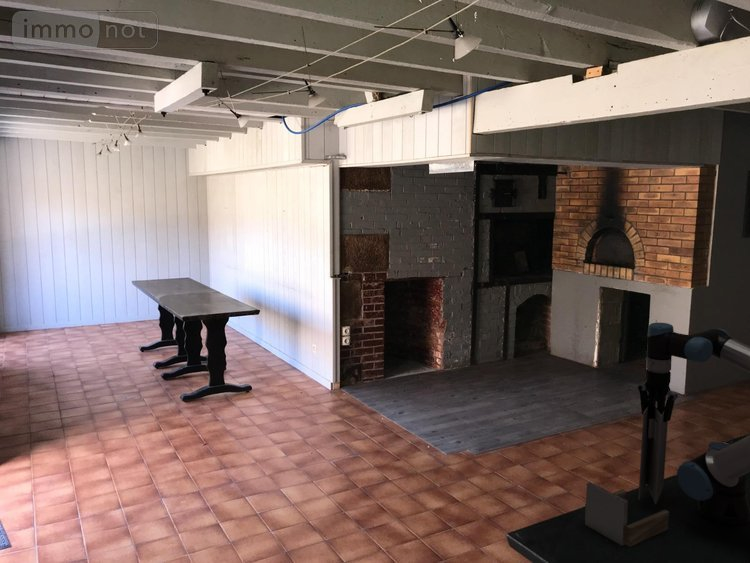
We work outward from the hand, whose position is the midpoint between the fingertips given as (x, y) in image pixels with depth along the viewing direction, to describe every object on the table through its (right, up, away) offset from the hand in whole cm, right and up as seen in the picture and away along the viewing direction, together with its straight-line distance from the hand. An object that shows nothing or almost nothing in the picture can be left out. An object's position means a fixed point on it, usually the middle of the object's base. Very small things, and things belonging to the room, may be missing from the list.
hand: (654, 438), depth 207 cm
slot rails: (-14, -25, -10) cm, 30 cm away
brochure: (0, -20, +3) cm, 20 cm away
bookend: (-22, -26, -15) cm, 37 cm away
